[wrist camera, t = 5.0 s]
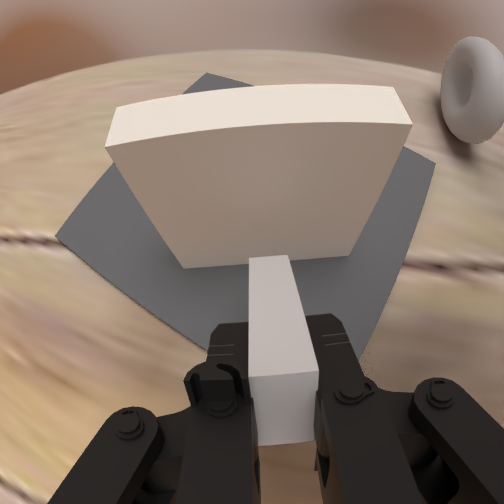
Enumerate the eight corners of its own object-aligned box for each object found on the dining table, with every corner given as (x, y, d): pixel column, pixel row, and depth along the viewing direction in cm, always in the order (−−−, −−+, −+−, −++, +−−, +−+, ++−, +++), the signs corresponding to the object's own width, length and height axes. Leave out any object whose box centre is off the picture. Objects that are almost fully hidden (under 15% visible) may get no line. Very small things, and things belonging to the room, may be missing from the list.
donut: (480, 171, 22) (534, 90, 13) (449, 162, 22) (500, 73, 13) (455, 98, 26) (486, 25, 17) (427, 90, 26) (455, 12, 17)
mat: (433, 168, 22) (435, 163, 22) (324, 417, 16) (325, 418, 15) (207, 77, 28) (206, 72, 27) (58, 239, 21) (54, 236, 21)
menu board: (348, 255, 19) (412, 124, 9) (183, 268, 19) (104, 147, 9) (342, 226, 20) (392, 86, 10) (184, 238, 20) (116, 107, 10)
